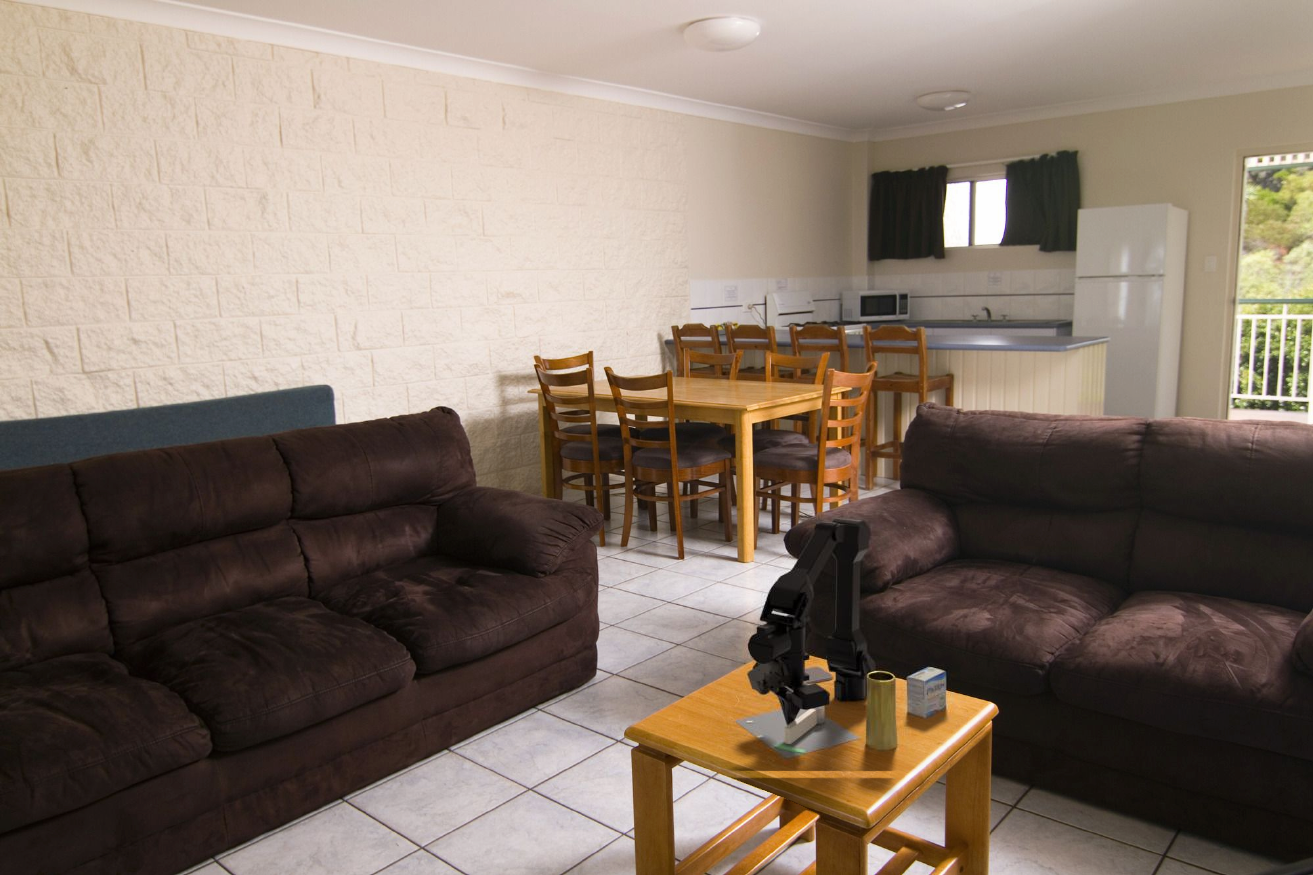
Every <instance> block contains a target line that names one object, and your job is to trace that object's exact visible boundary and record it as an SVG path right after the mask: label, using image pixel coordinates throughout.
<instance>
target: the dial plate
mask: <svg viewBox="0 0 1313 875" xmlns="http://www.w3.org/2000/svg"><path fill="white" fill-rule="evenodd" d="M808 710H809V709H808ZM808 710H803V709H800V711H799V713H798V715H797V716H796V718H795V720H796V719H797V718H798V717H800V716H801V715H803V714H804V713H805V712H807V711H808ZM734 722H735V723H736V724H738V725H739V726H741V727H742V728H743V729H744V730H746V731H747V732H749V733H750V734H752V735H753V736H754V737H756V738H757V739H759V740H760V741H761V742H762V743H763V744H765V745H767V747H770V748H771V749H772V750H773V751H775V752H776V753H778V754H779V755H780V756H781V757H783V758H784V759H786V760H787V759H790V758H795V757H797V756H798V757H799V756H802V755H805V754H810V753H813V752H816V751H820V750H825V749H827V748H831V747H834V746H838V745H841V744H845V743H849V742H853V741H855V740H860V739H861V737H859V736H858V735H856V734H855V733H854V732H852V731H850V730H848V729H847V728H845V727H843V726H842V725H840V724H838V723H837V722H835V721H834V720H832V719H831V718H829V717H826V716H825V722H824V723H822V724H816V725H815V726H813V727H812V728H811V729H810V730H808V731H807V732H806V733H804V734H803V735H802V736H800V737H799V738H798V739H797V740H795V741H794V742H793V743H791V744H788V743H785V727H786V726H788V725H787V724H786V721H785V717H784V714H783V711H782V708H781V709H777V710H773V711H768V712H762V713H760V714H756V715H752V716H748V717H743V718H741V719H740V718H739V719H736V720H734Z"/></svg>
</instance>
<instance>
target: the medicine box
mask: <svg viewBox="0 0 1313 875" xmlns="http://www.w3.org/2000/svg"><path fill="white" fill-rule="evenodd" d="M945 708H947V671H945V670H943V669H940V668H935V667H931V666H927V667H925V668H923V669H921V670H918V671H917V672H915V673H913V674H911V675H908V676H907V677H906V712H907V713H908V714H912V715H915V716H918V717H921V718H925V719H927V718H928V717H931V715H934V714H935V713H937V712H940V711H941V710H943V709H945Z"/></svg>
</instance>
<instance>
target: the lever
mask: <svg viewBox="0 0 1313 875" xmlns="http://www.w3.org/2000/svg"><path fill="white" fill-rule="evenodd" d="M825 707H826V706H821V707H817V708H813V709H809V710H808V711H807V712H805V713H804V714H803V715H801V716H800V717H798V718H797V719H796V720H794V721H793V722H792V723H790V724H789V725H788V726H786V727H785V743H788V744H791V743H793V742H794V741H795V740H797V739H798V738H799V737H800V736H802V735H803V734H804V733H806V732H807V731H808V730H810V729H811V728H812V727H813V726H815V725H816V724H822V723H824V722H825V717H826V714H825V710H826V709H825Z"/></svg>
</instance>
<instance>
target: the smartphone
mask: <svg viewBox="0 0 1313 875" xmlns="http://www.w3.org/2000/svg"><path fill="white" fill-rule="evenodd" d="M805 673H807V674H808V675H809V680H807V681H803V682H805V683H807V684H808V685H811V684H817V683H820V682H825V681H826V682H827V681H831V680H833V679H834V676H833V674H832V673H831V672H829V671H827V670H826V669H824V668H822V667H821V666H811V667H805Z"/></svg>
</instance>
